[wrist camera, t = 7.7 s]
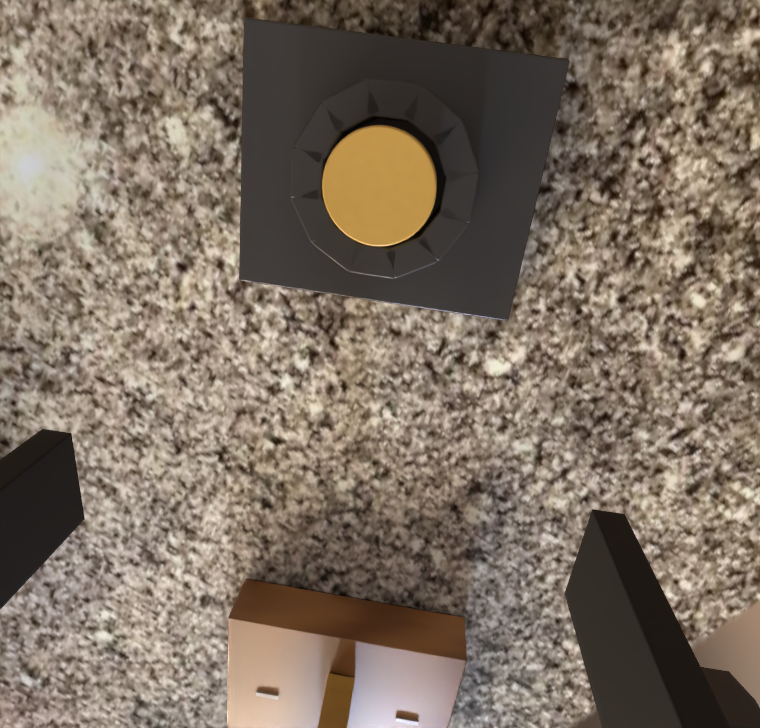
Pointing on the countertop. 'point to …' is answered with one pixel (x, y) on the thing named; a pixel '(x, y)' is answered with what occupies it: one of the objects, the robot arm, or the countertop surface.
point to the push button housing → (422, 120)
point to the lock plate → (339, 659)
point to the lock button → (379, 185)
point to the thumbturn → (336, 702)
